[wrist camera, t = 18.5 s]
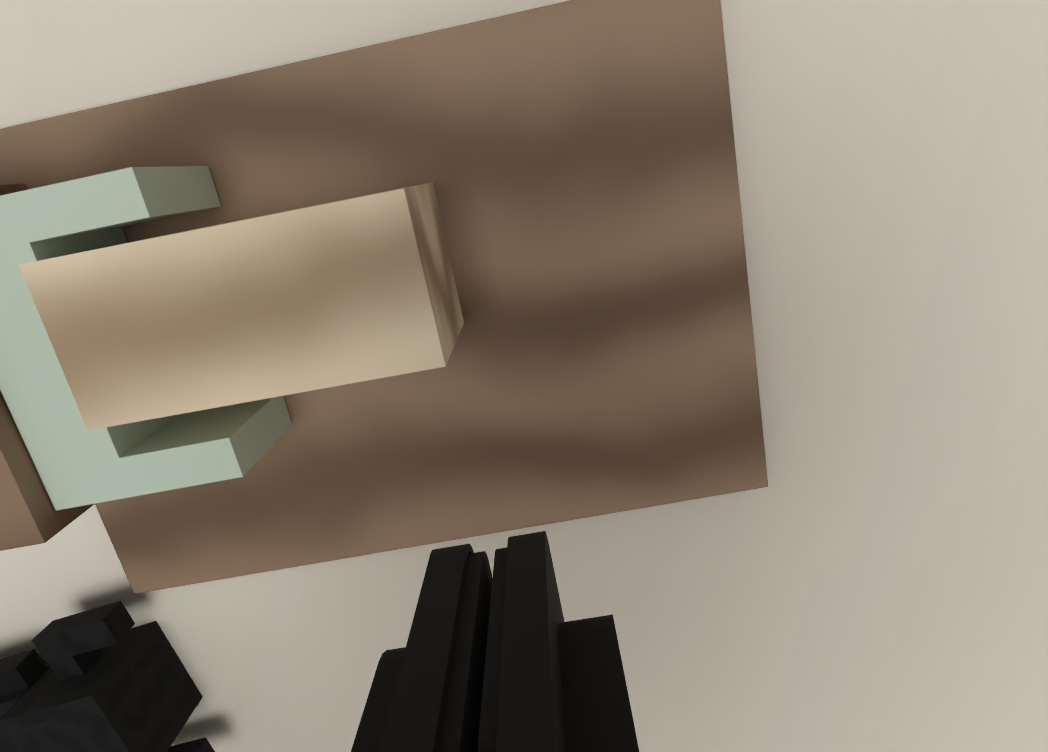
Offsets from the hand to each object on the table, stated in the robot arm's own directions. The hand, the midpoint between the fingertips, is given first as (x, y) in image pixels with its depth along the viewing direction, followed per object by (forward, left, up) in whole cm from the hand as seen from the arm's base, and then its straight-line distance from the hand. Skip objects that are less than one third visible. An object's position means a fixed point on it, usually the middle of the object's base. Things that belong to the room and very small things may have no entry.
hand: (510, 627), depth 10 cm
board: (+1, +6, -19) cm, 20 cm away
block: (+3, +14, -18) cm, 23 cm away
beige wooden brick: (+4, +8, -18) cm, 20 cm away
